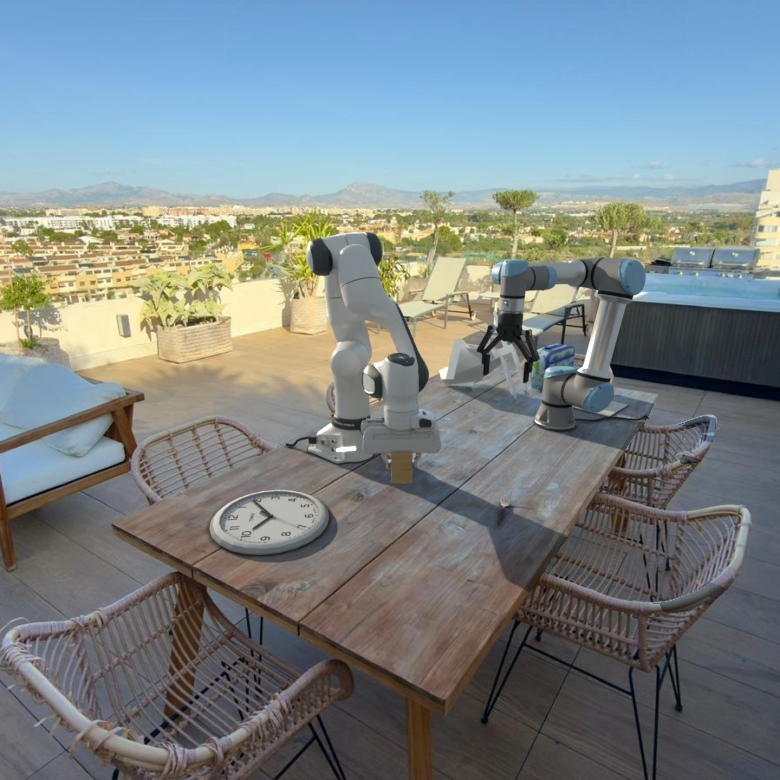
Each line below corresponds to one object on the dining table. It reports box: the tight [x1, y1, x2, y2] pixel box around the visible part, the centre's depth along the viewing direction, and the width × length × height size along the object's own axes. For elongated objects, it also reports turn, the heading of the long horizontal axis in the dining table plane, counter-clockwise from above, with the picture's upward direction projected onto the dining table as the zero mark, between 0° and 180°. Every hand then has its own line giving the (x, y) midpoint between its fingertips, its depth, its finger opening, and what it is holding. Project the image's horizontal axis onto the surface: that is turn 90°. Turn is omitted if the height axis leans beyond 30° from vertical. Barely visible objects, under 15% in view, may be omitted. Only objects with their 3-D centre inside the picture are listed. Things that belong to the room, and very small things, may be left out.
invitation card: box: [573, 400, 629, 417], centre depth 226 cm, size 21×1×15 cm
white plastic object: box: [438, 310, 531, 400], centre depth 245 cm, size 37×45×31 cm
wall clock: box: [209, 489, 330, 556], centre depth 135 cm, size 30×2×30 cm
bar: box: [389, 451, 413, 485], centre depth 145 cm, size 26×5×8 cm, turn 1°
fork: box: [497, 491, 512, 526], centre depth 140 cm, size 3×16×2 cm, turn 160°
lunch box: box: [530, 343, 576, 391], centre depth 249 cm, size 26×11×21 cm, turn 134°
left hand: (401, 467), depth 137 cm, fingers closed on bar, 5 cm apart
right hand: (505, 378), depth 166 cm, fingers open, 13 cm apart
